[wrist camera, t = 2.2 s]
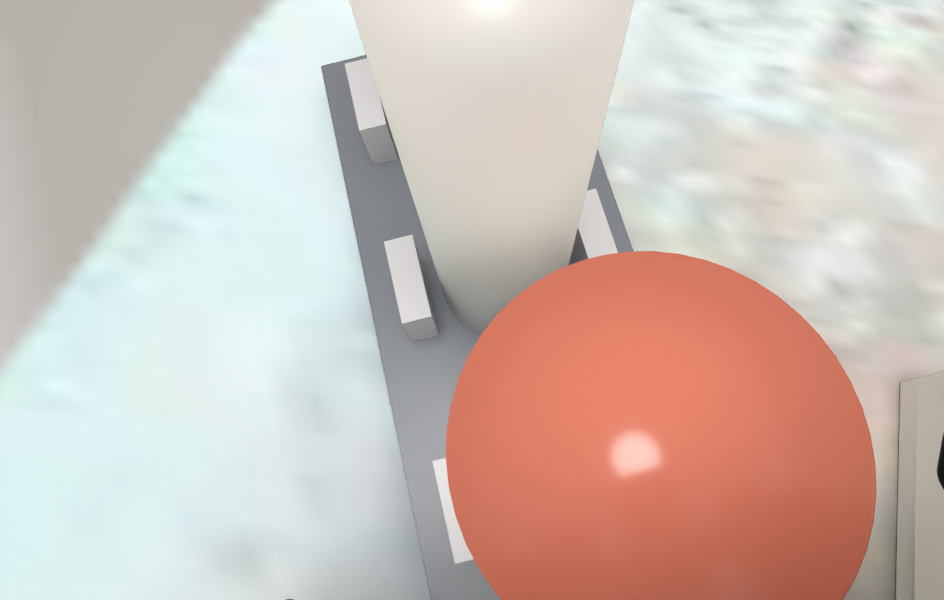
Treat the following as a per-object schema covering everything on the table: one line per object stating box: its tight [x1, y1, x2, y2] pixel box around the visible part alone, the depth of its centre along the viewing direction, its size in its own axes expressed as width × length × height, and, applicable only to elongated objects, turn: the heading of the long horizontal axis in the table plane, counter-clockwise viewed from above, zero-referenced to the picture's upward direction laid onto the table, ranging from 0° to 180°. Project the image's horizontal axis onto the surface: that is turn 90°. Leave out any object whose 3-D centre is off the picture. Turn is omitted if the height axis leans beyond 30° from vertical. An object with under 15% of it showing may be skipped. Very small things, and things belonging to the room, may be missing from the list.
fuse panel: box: [321, 0, 634, 600], centre depth 14 cm, size 19×8×13 cm, turn 14°
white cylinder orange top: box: [446, 251, 876, 600], centre depth 11 cm, size 4×4×12 cm
